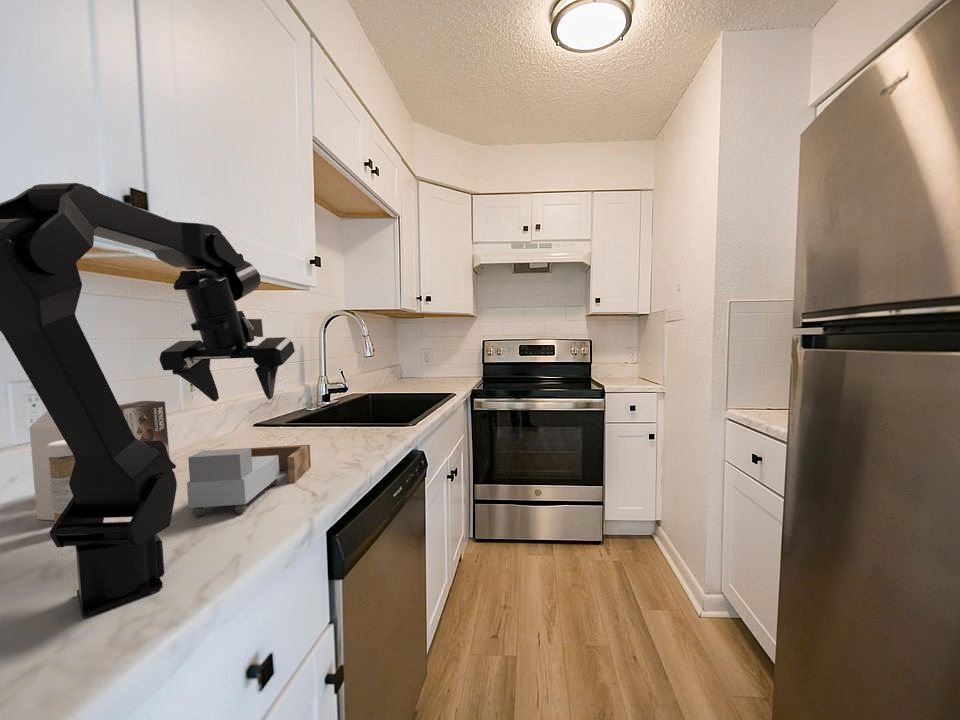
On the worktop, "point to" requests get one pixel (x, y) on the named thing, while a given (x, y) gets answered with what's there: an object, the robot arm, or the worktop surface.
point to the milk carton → (43, 463)
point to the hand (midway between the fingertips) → (243, 399)
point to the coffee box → (147, 420)
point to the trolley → (228, 478)
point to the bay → (288, 458)
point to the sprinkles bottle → (60, 475)
